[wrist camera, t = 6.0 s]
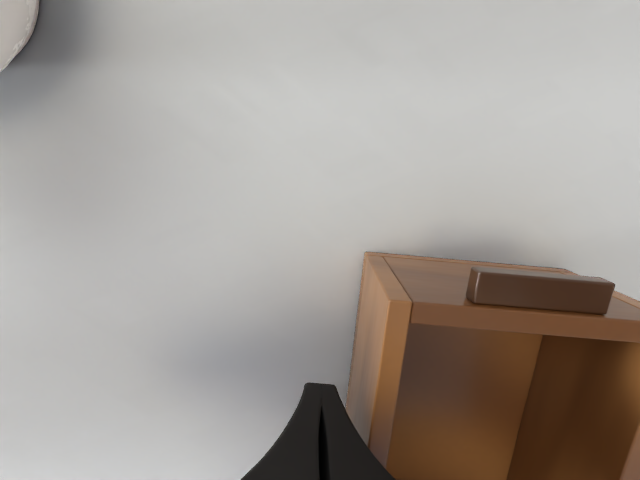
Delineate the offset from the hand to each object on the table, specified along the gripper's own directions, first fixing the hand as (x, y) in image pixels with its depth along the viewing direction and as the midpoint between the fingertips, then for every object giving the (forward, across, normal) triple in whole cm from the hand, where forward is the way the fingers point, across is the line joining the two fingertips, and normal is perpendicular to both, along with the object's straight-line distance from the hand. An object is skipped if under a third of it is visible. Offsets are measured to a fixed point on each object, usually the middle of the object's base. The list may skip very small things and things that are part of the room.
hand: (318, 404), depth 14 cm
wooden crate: (+2, -6, 0) cm, 6 cm away
